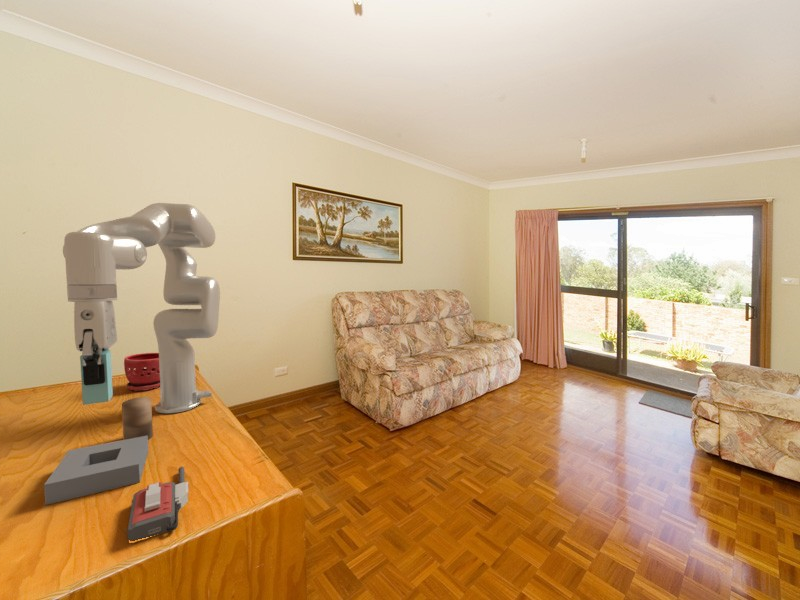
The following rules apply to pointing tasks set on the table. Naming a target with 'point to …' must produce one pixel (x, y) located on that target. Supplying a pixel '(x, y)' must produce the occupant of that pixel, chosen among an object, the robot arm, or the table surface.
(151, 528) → the walkie-talkie
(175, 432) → the table surface
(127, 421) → the round plug
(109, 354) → the square peg
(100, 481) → the socket block
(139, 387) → the plant pot
